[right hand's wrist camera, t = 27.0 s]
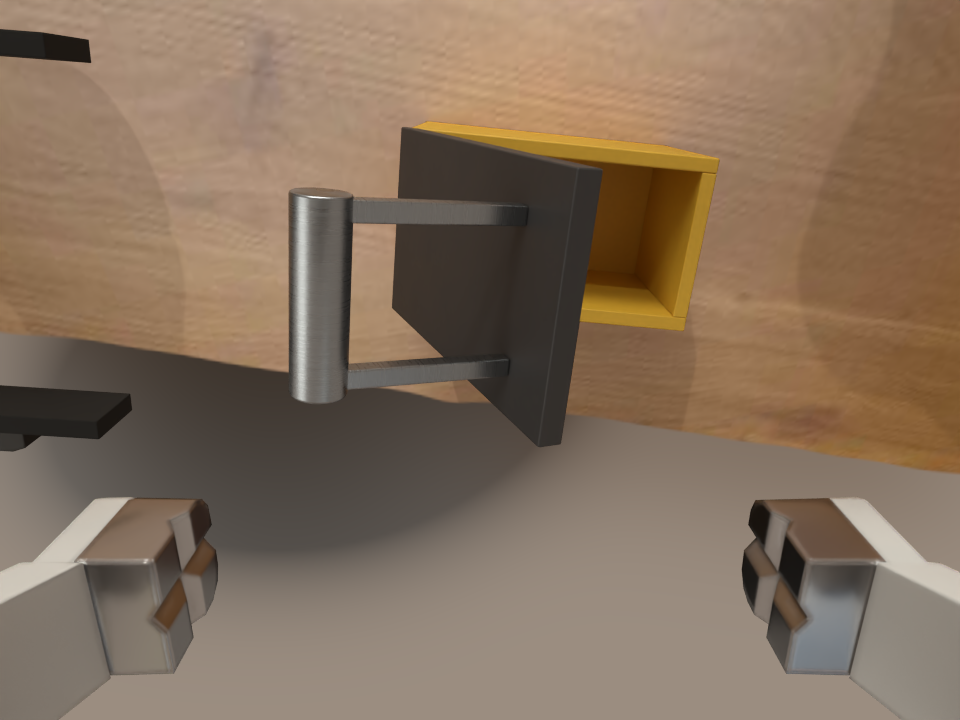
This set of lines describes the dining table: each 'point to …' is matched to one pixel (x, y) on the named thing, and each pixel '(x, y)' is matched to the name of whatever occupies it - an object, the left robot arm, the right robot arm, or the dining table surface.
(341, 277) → the lid
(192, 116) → the dining table surface
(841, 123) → the dining table surface
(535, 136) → the chest
